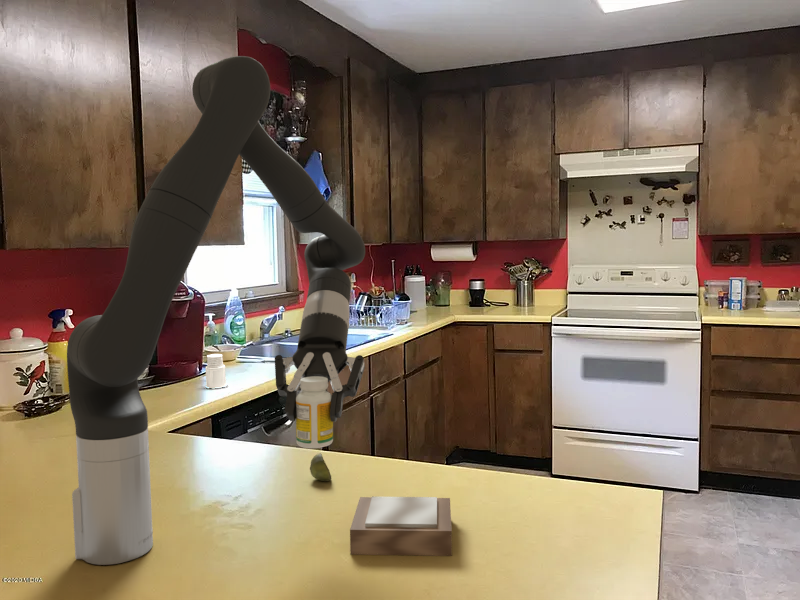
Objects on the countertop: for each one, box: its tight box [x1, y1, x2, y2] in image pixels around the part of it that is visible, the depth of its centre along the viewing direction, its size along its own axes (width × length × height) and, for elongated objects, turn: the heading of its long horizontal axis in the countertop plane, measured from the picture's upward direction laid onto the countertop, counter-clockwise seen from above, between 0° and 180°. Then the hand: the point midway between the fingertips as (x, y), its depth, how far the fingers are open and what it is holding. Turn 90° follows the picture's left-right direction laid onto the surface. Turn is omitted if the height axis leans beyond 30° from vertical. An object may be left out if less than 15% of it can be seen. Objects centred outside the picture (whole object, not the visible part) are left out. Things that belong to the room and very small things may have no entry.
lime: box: [309, 452, 332, 482], centre depth 121 cm, size 4×5×5 cm
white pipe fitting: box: [205, 353, 227, 388], centre depth 204 cm, size 8×7×10 cm
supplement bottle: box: [295, 376, 334, 449], centre depth 97 cm, size 5×5×10 cm
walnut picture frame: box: [349, 496, 453, 557], centre depth 97 cm, size 14×12×4 cm
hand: (312, 418), depth 95 cm, fingers closed on supplement bottle, 5 cm apart
